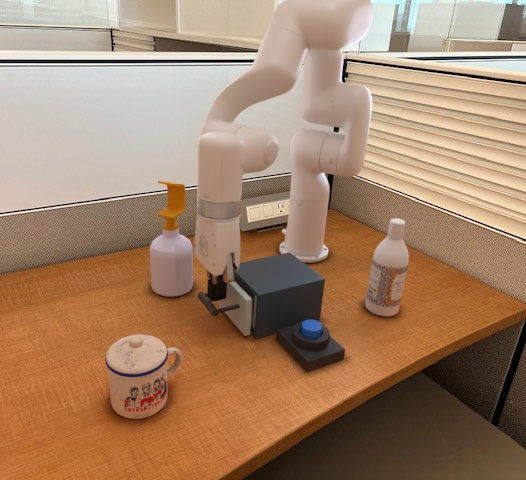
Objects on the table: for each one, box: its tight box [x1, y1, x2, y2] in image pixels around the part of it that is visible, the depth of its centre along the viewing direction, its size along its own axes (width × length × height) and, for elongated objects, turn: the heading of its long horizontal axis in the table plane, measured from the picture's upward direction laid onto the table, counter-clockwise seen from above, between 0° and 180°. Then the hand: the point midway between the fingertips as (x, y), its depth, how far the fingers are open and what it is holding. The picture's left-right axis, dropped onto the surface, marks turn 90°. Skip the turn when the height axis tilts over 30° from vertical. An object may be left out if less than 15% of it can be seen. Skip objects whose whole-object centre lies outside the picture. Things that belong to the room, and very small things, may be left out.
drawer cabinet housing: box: [233, 252, 326, 340], centre depth 96 cm, size 15×13×10 cm
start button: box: [301, 319, 322, 339], centre depth 86 cm, size 4×4×2 cm
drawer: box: [196, 272, 257, 337], centre depth 93 cm, size 19×11×8 cm, turn 117°
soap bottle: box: [149, 180, 194, 298], centre depth 101 cm, size 9×9×25 cm
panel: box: [275, 321, 346, 373], centre depth 87 cm, size 10×8×4 cm
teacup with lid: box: [104, 333, 183, 420], centre depth 73 cm, size 12×9×12 cm
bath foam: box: [364, 217, 410, 317], centre depth 97 cm, size 7×7×20 cm
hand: (216, 298), depth 89 cm, fingers closed
